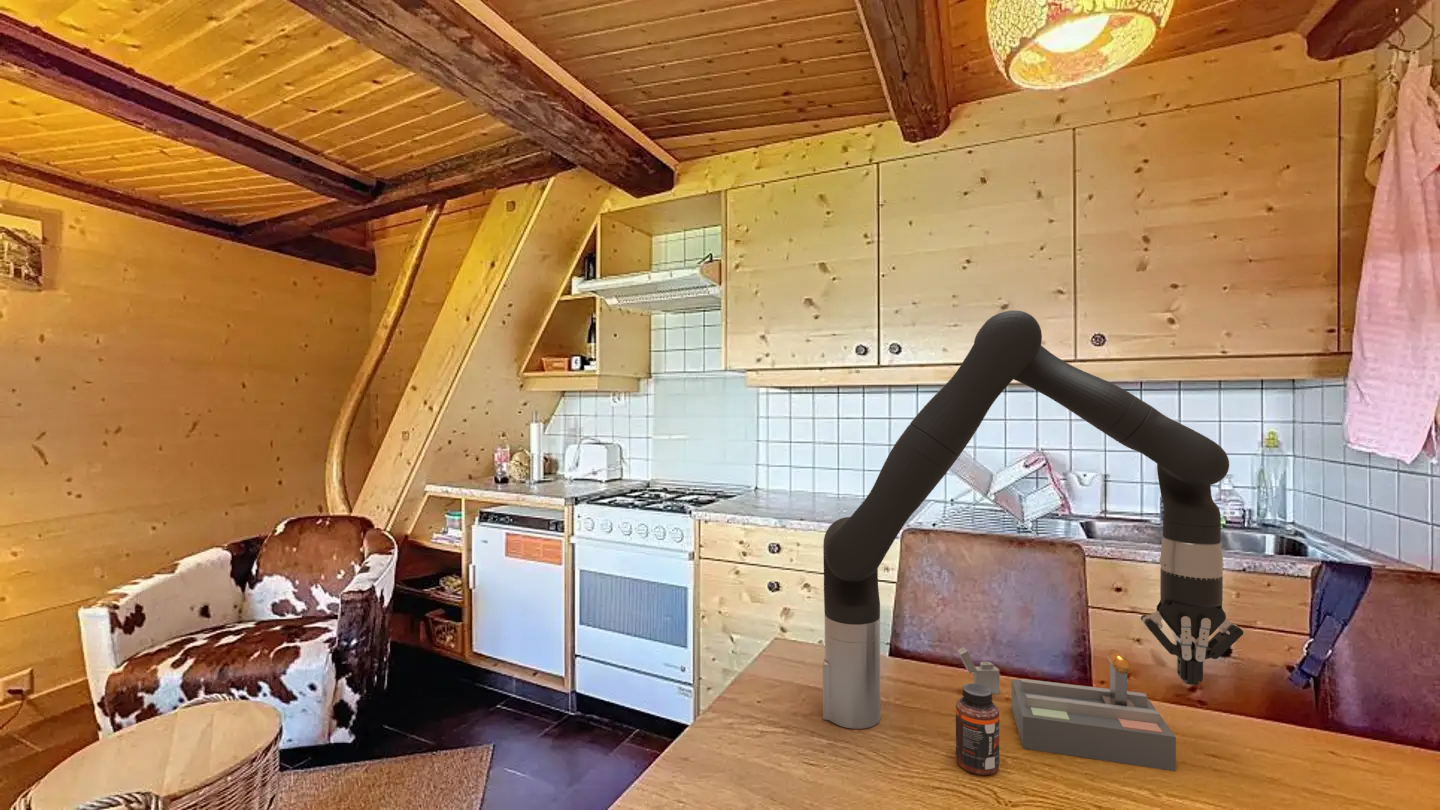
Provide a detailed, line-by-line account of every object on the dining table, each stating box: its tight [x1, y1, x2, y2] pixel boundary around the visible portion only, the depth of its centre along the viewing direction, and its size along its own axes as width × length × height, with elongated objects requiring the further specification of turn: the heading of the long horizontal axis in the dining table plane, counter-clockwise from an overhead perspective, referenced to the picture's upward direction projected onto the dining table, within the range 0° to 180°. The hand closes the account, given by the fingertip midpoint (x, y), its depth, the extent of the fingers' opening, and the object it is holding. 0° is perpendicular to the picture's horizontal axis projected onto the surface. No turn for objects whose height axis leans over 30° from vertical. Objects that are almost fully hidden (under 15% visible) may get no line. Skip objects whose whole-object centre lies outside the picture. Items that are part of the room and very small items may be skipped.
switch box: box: [1010, 678, 1177, 772], centre depth 99 cm, size 20×13×7 cm, turn 72°
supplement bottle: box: [955, 682, 1000, 776], centre depth 92 cm, size 6×6×11 cm
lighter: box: [956, 646, 1000, 695], centre depth 115 cm, size 7×2×8 cm, turn 89°
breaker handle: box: [1101, 648, 1136, 708], centre depth 98 cm, size 4×4×8 cm
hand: (1190, 682), depth 95 cm, fingers closed
